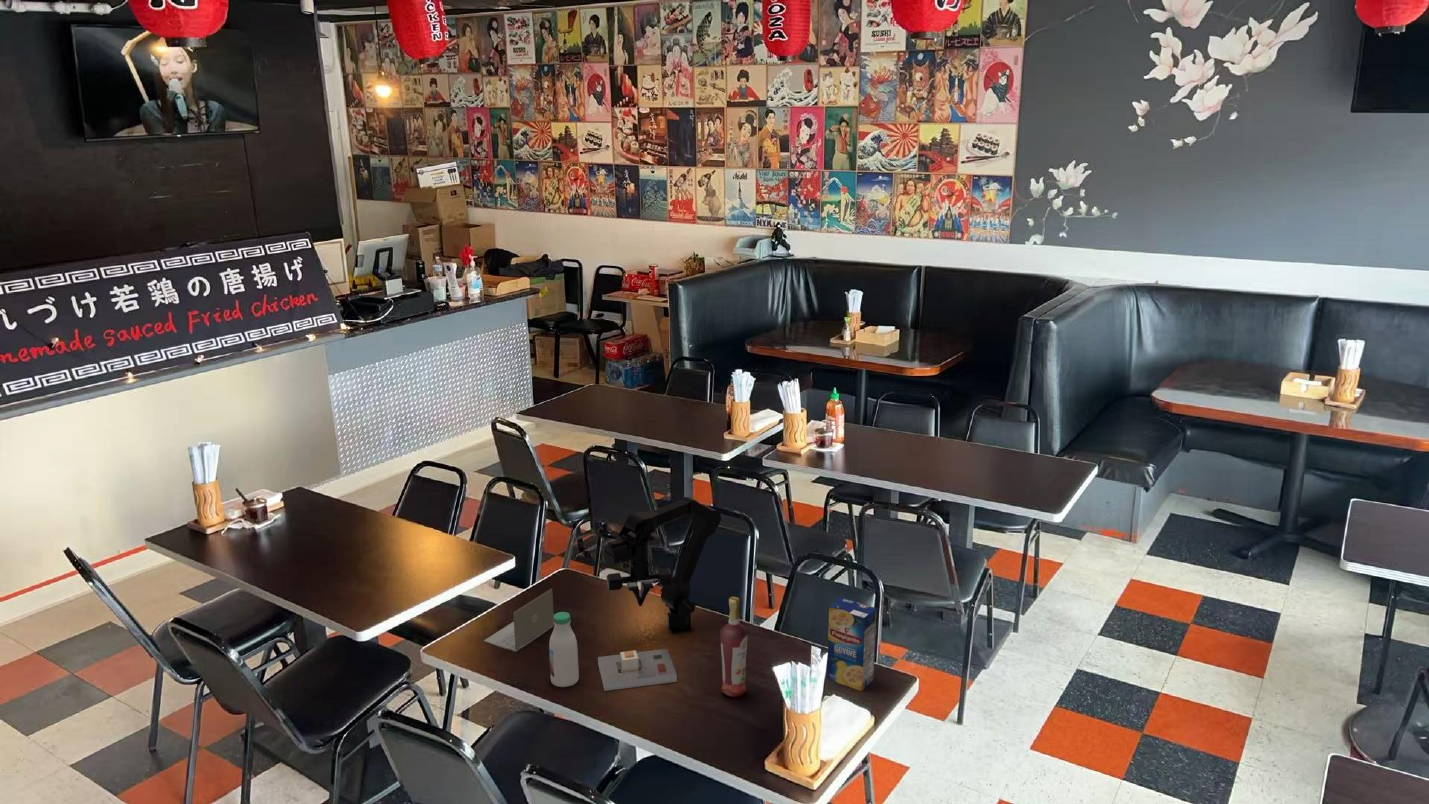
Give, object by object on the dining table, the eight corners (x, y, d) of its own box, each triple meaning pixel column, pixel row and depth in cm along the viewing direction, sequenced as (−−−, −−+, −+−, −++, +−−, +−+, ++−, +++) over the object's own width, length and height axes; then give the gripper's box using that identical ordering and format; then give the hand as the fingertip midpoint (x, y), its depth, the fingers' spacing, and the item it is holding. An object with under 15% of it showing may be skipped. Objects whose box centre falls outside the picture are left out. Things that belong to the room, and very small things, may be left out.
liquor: (738, 703, 270) (738, 607, 262) (715, 695, 273) (714, 601, 266) (752, 690, 276) (753, 596, 268) (729, 682, 279) (729, 590, 272)
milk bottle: (583, 675, 283) (580, 611, 278) (571, 690, 276) (567, 623, 271) (558, 671, 286) (555, 606, 280) (545, 685, 278) (542, 619, 273)
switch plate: (667, 656, 293) (667, 646, 292) (676, 681, 280) (676, 671, 279) (598, 665, 289) (597, 654, 288) (604, 691, 275) (604, 680, 275)
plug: (636, 669, 286) (635, 648, 285) (638, 677, 282) (638, 656, 280) (620, 671, 285) (620, 650, 284) (623, 679, 281) (622, 658, 280)
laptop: (522, 617, 317) (520, 579, 313) (554, 627, 311) (552, 588, 307) (483, 642, 302) (480, 603, 298) (516, 653, 296) (513, 612, 292)
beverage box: (862, 691, 275) (865, 618, 269) (826, 678, 281) (828, 606, 275) (873, 680, 280) (876, 608, 274) (838, 668, 287) (841, 597, 281)
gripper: (665, 542, 303) (666, 590, 307) (603, 548, 299) (605, 596, 303) (672, 557, 293) (673, 606, 297) (608, 564, 289) (609, 613, 293)
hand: (640, 605), depth 298 cm, fingers closed
